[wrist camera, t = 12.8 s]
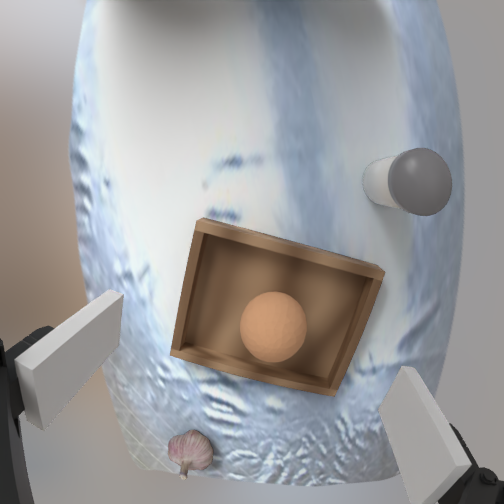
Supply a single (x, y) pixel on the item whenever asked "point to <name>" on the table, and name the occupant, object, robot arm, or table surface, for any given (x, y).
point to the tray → (272, 280)
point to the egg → (273, 326)
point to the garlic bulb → (190, 452)
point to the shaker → (410, 182)
